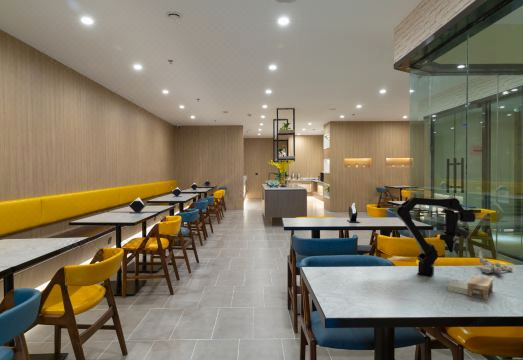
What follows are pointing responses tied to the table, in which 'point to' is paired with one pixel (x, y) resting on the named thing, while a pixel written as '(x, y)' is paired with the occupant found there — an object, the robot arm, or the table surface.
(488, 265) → the anatomical model
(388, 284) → the table surface
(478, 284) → the wooden block
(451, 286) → the cream rectangular block
